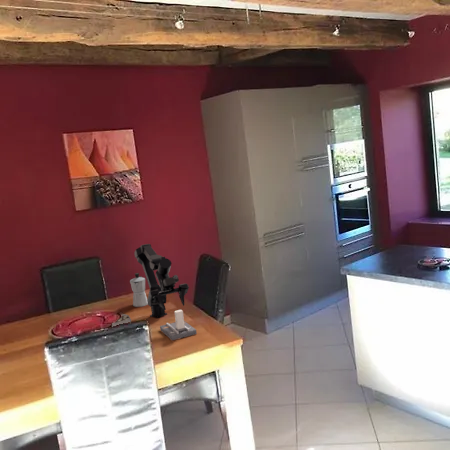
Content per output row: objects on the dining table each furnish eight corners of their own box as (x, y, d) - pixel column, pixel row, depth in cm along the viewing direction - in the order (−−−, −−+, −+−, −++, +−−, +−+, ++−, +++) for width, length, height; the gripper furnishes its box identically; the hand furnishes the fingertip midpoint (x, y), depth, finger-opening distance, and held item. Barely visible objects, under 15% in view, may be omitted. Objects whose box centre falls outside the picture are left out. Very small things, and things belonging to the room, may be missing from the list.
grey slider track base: (160, 330, 238) (159, 324, 238) (183, 324, 244) (183, 318, 243) (171, 340, 224) (171, 334, 224) (196, 333, 229) (195, 327, 229)
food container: (127, 344, 225) (124, 323, 223) (114, 344, 226) (111, 323, 224) (137, 333, 237) (134, 313, 235) (125, 333, 238) (122, 313, 236)
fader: (175, 329, 230) (173, 311, 229) (183, 327, 232) (181, 309, 231) (177, 331, 228) (175, 312, 226) (186, 329, 229) (183, 310, 228)
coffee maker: (146, 307, 275) (142, 275, 272) (130, 308, 275) (126, 277, 273) (150, 299, 290) (147, 268, 287) (135, 300, 290) (131, 270, 287)
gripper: (147, 274, 231) (158, 303, 223) (185, 266, 239) (196, 294, 231) (144, 287, 239) (154, 315, 231) (181, 279, 247) (192, 306, 239)
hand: (174, 307), depth 233 cm, fingers open, 9 cm apart
